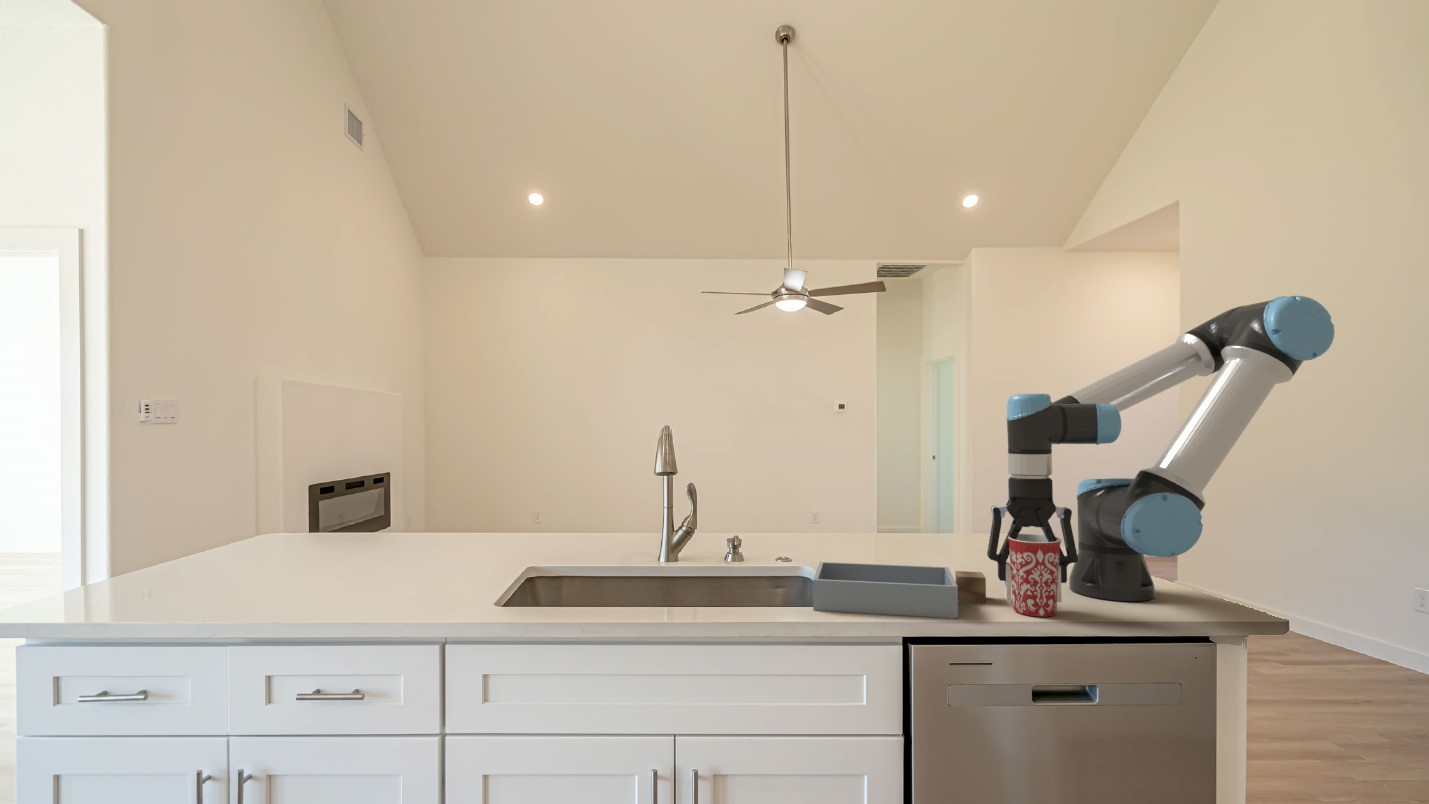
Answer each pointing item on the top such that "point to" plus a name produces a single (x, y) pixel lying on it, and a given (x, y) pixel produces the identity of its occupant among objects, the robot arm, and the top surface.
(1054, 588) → the mug
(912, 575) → the tote
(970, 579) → the cube
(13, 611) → the top surface
